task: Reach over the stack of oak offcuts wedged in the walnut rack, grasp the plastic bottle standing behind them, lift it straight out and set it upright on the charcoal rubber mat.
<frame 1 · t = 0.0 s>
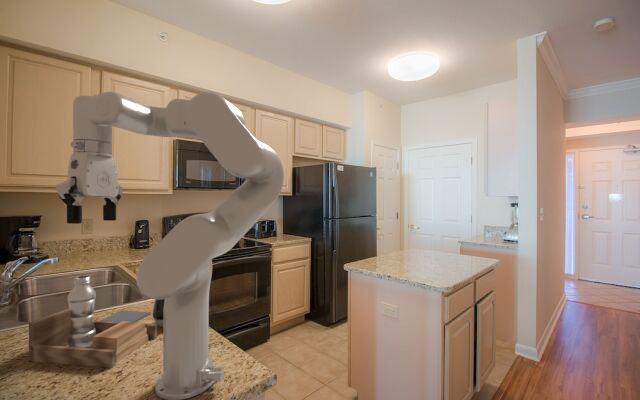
hand: (93, 221, 73), 37 cm above the countertop, tool pointing down, fingers open, 9 cm apart
rack: (97, 348, 86), on the countertop
mat: (123, 319, 107), on the countertop
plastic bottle: (82, 348, 87), resting in rack
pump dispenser: (170, 325, 103), on the countertop
offcut stack: (120, 350, 86), on the countertop
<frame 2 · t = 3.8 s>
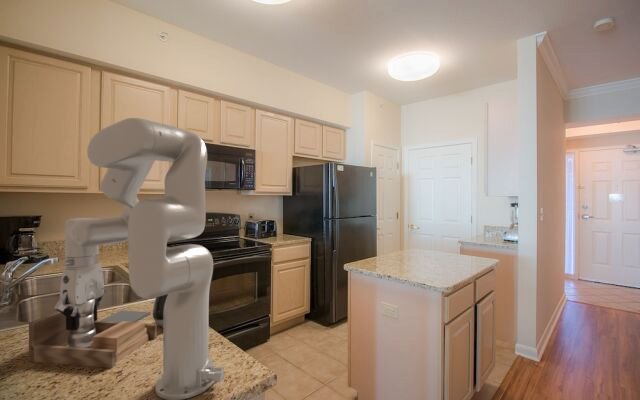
hand: (82, 324, 87), 6 cm above the countertop, tool pointing down, fingers closed on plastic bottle, 5 cm apart
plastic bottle: (82, 348, 87), resting in rack, touching gripper
everything else where it was.
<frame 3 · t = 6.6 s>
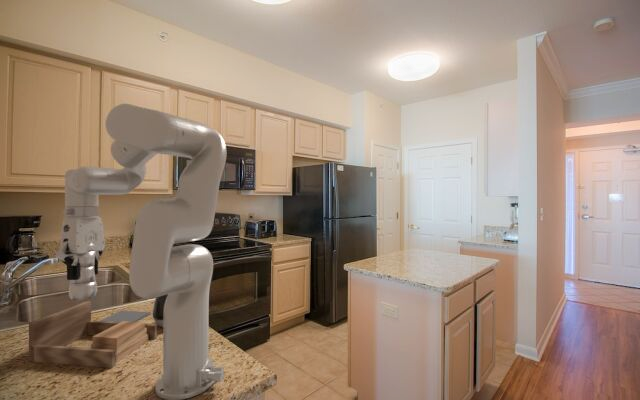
hand: (83, 276, 87), 20 cm above the countertop, tool pointing down, fingers closed on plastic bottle, 5 cm apart
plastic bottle: (83, 300, 87), point 14 cm above the countertop, touching gripper
everything else where it was.
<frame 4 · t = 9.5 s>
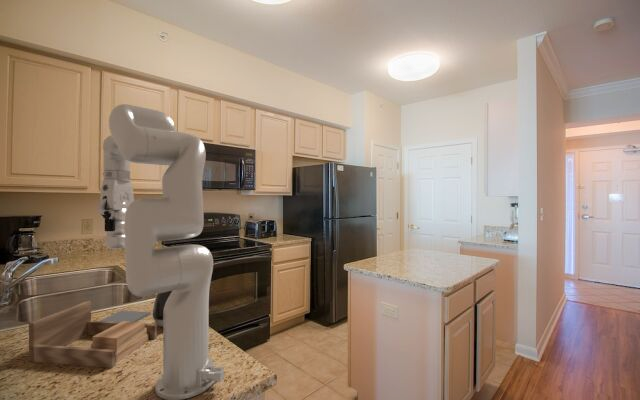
hand: (117, 229, 104), 32 cm above the countertop, tool pointing down, fingers closed on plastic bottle, 5 cm apart
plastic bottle: (116, 249, 104), point 25 cm above the countertop, touching gripper
everything else where it was.
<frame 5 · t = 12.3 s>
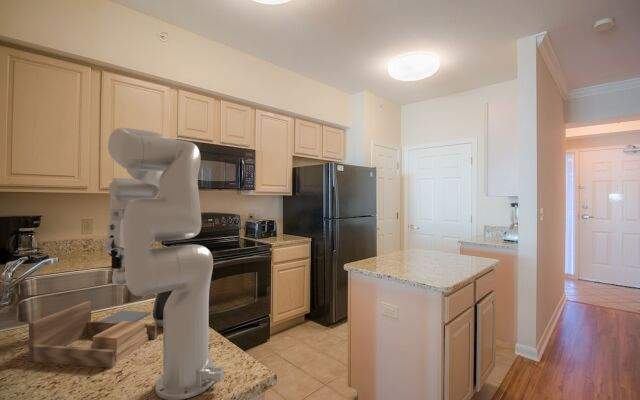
hand: (123, 265, 107), 19 cm above the countertop, tool pointing down, fingers closed on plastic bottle, 5 cm apart
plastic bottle: (123, 284, 108), point 12 cm above the countertop, touching gripper
everything else where it was.
when the fingers open (8 cm above the countertop, at t = 15.1 s): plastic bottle drops 1 cm, resting on mat.
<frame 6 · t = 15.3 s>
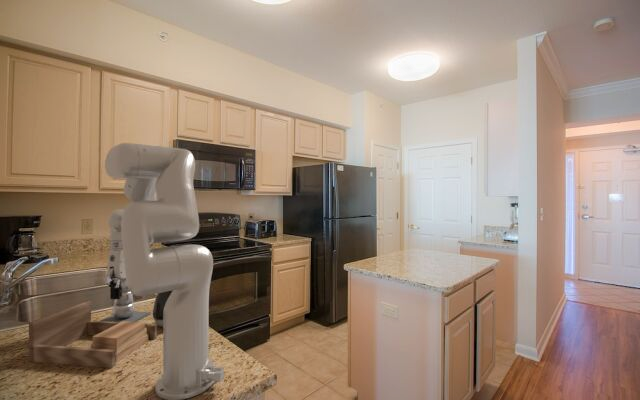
hand: (123, 295, 107), 8 cm above the countertop, tool pointing down, fingers open, 6 cm apart
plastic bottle: (123, 317, 108), resting on mat, touching gripper
everything else where it was.
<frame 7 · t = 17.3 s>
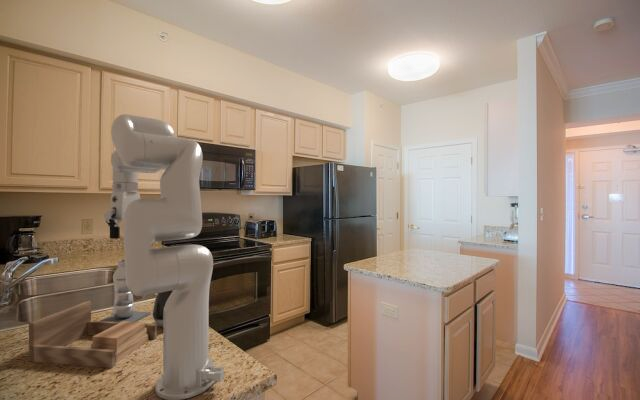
hand: (125, 236, 108), 29 cm above the countertop, tool pointing down, fingers open, 9 cm apart
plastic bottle: (123, 317, 108), resting on mat
everything else where it was.
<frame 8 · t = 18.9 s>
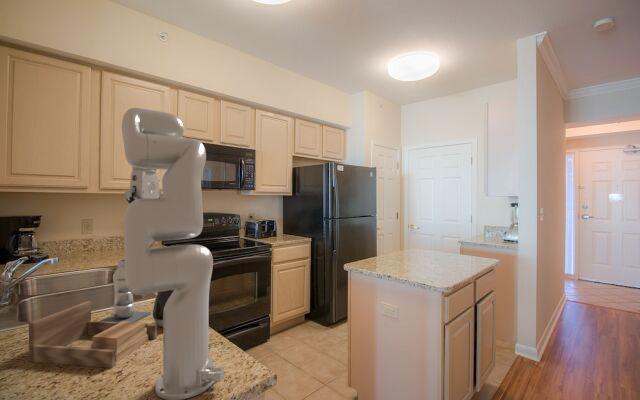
hand: (144, 215, 111), 36 cm above the countertop, tool pointing down, fingers open, 9 cm apart
nothing on the countertop moved.
at the end: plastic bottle inside the target area on the mat (0.3 cm from its centre), point 0.4 cm above the mat's base; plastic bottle tilted 0°; the gripper is holding nothing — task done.
